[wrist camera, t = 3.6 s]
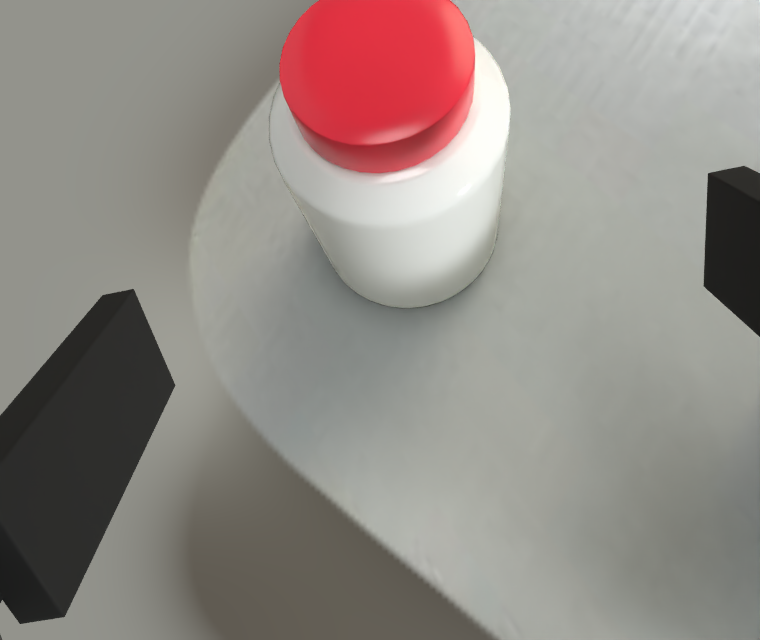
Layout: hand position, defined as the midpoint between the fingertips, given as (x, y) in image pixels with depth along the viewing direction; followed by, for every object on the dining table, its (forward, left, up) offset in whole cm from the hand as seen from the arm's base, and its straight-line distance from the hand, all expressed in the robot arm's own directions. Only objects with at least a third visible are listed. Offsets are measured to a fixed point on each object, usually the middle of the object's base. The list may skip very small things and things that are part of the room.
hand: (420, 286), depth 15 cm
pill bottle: (0, +7, -12) cm, 14 cm away
